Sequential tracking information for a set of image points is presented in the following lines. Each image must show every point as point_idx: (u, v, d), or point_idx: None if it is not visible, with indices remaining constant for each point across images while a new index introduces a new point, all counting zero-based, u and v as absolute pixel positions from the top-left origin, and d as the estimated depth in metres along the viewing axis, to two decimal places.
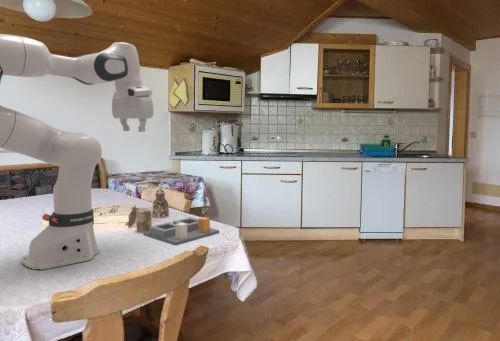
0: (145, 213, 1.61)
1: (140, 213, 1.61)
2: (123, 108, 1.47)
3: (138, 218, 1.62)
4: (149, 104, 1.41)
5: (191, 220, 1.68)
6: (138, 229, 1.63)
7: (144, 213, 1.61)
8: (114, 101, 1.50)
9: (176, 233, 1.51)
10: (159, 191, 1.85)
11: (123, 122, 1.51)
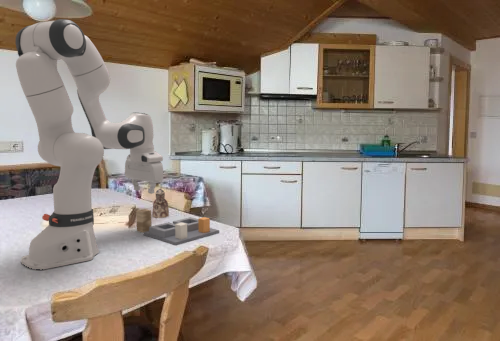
0: (145, 213, 1.61)
1: (140, 213, 1.61)
2: (136, 171, 1.61)
3: (138, 218, 1.62)
4: (160, 170, 1.55)
5: (191, 220, 1.68)
6: (138, 229, 1.63)
7: (144, 213, 1.61)
8: (128, 163, 1.64)
9: (176, 233, 1.51)
10: (159, 191, 1.85)
11: (134, 182, 1.65)
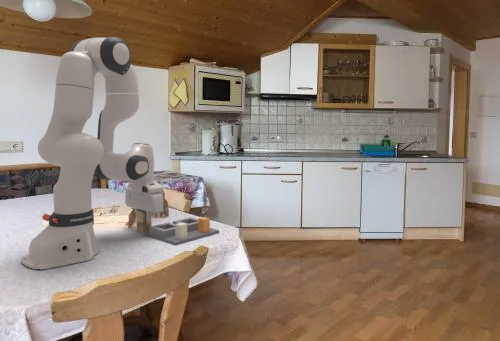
0: (145, 213, 1.61)
1: (140, 213, 1.61)
2: (136, 200, 1.62)
3: (138, 218, 1.62)
4: (160, 200, 1.56)
5: (191, 220, 1.68)
6: (138, 229, 1.63)
7: (144, 213, 1.61)
8: (128, 192, 1.65)
9: (176, 233, 1.51)
10: None
11: None
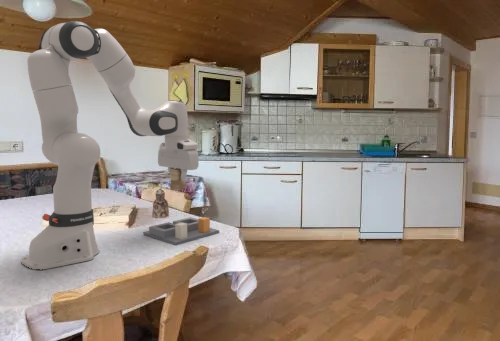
0: (179, 171, 1.61)
1: (174, 171, 1.61)
2: (170, 158, 1.62)
3: (172, 176, 1.62)
4: (195, 157, 1.56)
5: (191, 220, 1.68)
6: (172, 188, 1.63)
7: (178, 171, 1.60)
8: (161, 151, 1.65)
9: (176, 233, 1.51)
10: (159, 191, 1.85)
11: None
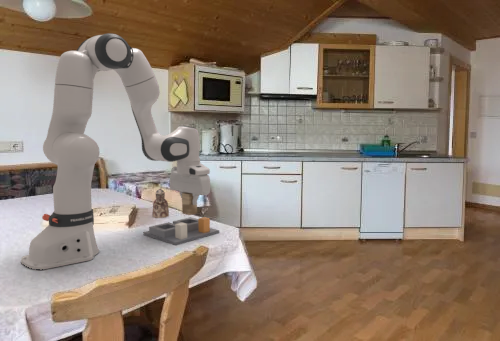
0: (191, 195, 1.62)
1: (186, 195, 1.62)
2: (182, 183, 1.63)
3: (184, 201, 1.63)
4: (207, 182, 1.57)
5: (191, 220, 1.68)
6: (184, 212, 1.64)
7: (190, 195, 1.62)
8: (173, 175, 1.66)
9: (176, 233, 1.51)
10: (159, 191, 1.85)
11: None
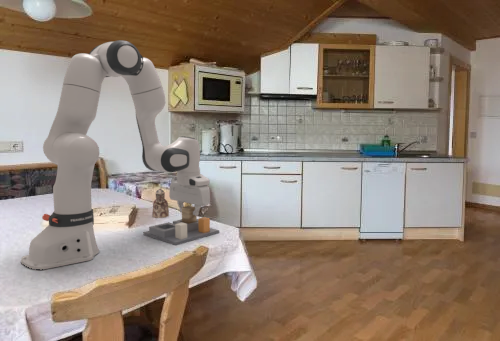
0: (191, 210, 1.63)
1: (186, 210, 1.62)
2: (181, 193, 1.64)
3: (183, 215, 1.64)
4: (207, 193, 1.58)
5: None
6: None
7: (190, 210, 1.62)
8: (173, 185, 1.67)
9: (176, 233, 1.51)
10: (159, 191, 1.85)
11: (180, 204, 1.67)
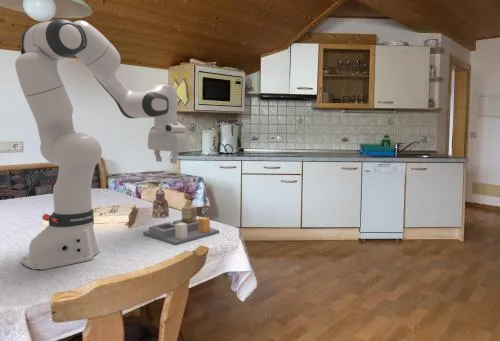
0: (191, 210, 1.63)
1: (186, 210, 1.62)
2: (159, 141, 1.64)
3: (183, 215, 1.64)
4: (183, 140, 1.58)
5: None
6: None
7: (190, 210, 1.62)
8: (151, 134, 1.67)
9: (176, 233, 1.51)
10: (159, 191, 1.85)
11: (156, 153, 1.68)
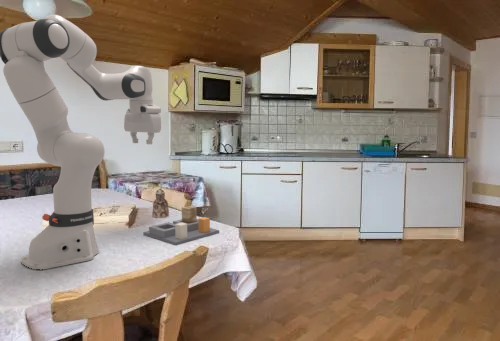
0: (191, 210, 1.63)
1: (186, 210, 1.62)
2: (135, 123, 1.67)
3: (183, 215, 1.64)
4: (158, 120, 1.61)
5: None
6: None
7: (190, 210, 1.62)
8: (127, 116, 1.70)
9: (176, 233, 1.51)
10: (159, 191, 1.85)
11: (132, 135, 1.71)
